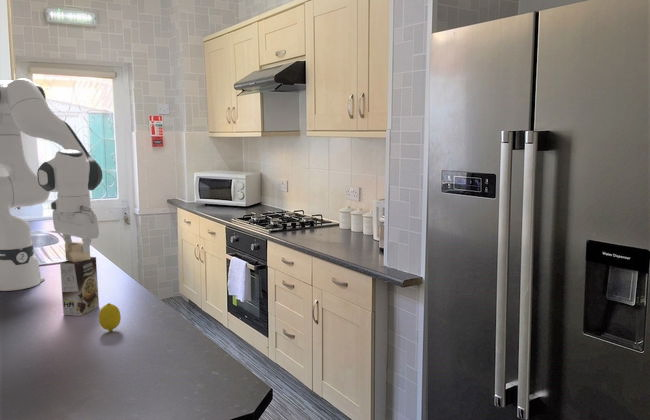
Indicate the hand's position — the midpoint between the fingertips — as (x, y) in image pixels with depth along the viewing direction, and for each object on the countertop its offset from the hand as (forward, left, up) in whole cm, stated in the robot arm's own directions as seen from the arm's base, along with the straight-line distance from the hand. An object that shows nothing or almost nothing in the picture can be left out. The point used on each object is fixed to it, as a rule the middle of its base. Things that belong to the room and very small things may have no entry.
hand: (77, 250), depth 165 cm
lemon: (+23, -4, -19) cm, 30 cm away
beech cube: (0, 0, -3) cm, 3 cm away
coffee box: (0, 0, -19) cm, 19 cm away
